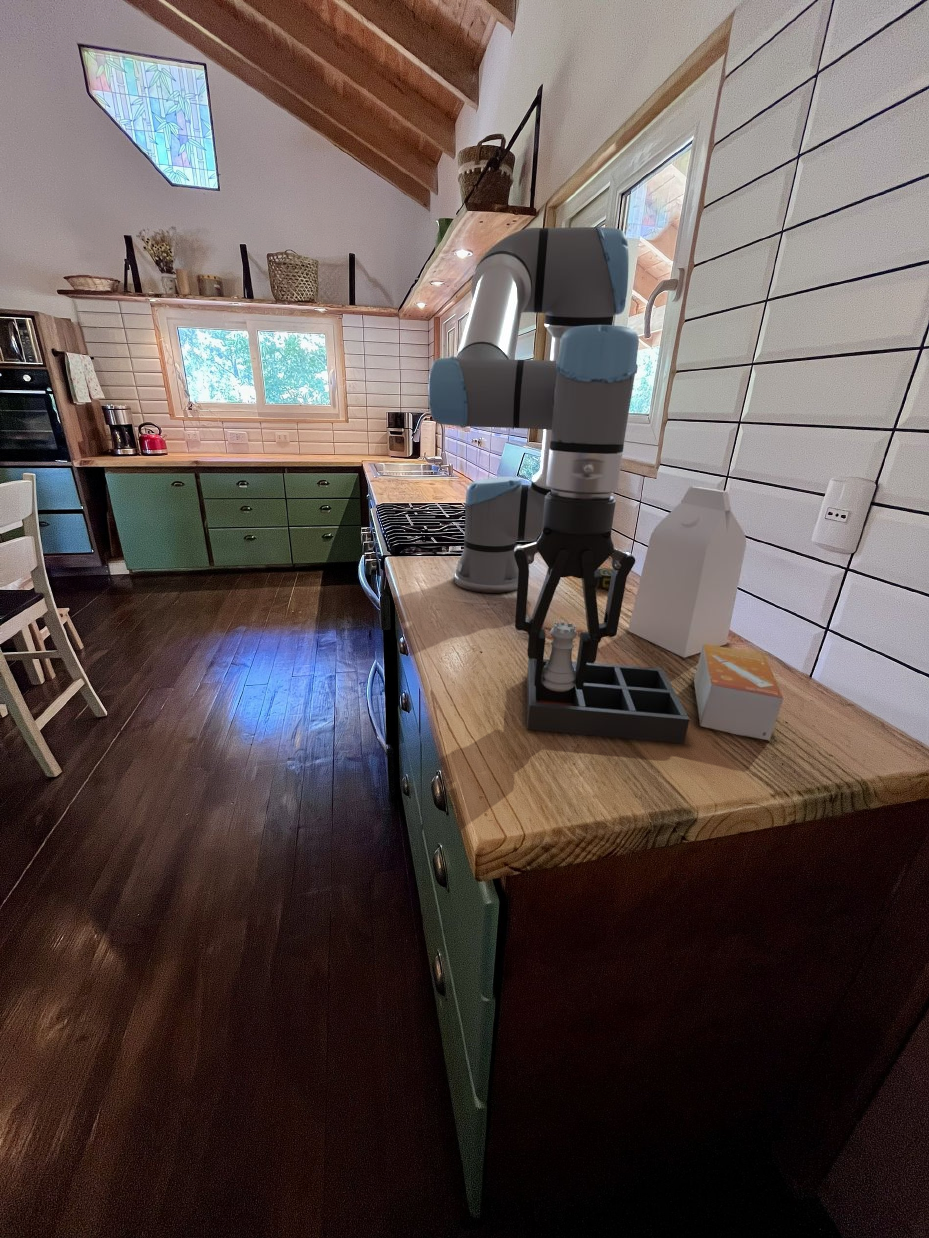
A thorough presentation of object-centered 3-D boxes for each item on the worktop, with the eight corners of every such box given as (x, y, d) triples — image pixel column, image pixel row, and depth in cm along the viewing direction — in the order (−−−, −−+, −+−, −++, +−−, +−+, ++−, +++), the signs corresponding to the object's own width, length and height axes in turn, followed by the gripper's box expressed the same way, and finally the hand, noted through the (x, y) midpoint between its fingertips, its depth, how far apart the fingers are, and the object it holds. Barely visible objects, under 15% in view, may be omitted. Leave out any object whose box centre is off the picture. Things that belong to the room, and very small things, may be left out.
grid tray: (526, 678, 73) (528, 657, 72) (657, 689, 72) (662, 668, 70) (527, 729, 61) (529, 705, 60) (684, 744, 60) (690, 719, 58)
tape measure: (587, 581, 117) (589, 566, 116) (617, 583, 117) (619, 568, 115) (591, 591, 111) (593, 575, 110) (622, 593, 110) (625, 577, 109)
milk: (726, 644, 87) (766, 492, 77) (684, 657, 81) (721, 496, 71) (669, 620, 96) (698, 482, 86) (627, 630, 91) (653, 485, 81)
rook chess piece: (575, 695, 60) (584, 635, 57) (538, 690, 61) (544, 630, 58) (575, 677, 64) (583, 620, 61) (540, 673, 65) (546, 616, 62)
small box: (764, 652, 70) (785, 698, 58) (752, 691, 72) (770, 742, 61) (701, 642, 72) (710, 684, 61) (692, 680, 75) (699, 727, 63)
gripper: (497, 493, 51) (486, 691, 60) (674, 502, 49) (635, 704, 58) (500, 484, 58) (490, 662, 67) (655, 491, 56) (623, 673, 65)
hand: (557, 681), depth 62 cm, fingers closed on rook chess piece, 4 cm apart
